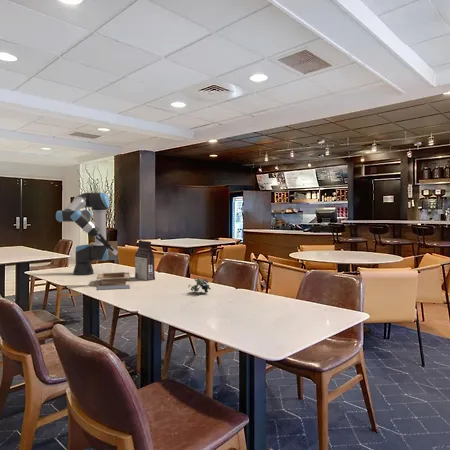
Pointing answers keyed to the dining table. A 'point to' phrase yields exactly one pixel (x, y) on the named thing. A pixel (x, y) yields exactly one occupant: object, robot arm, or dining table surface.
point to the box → (110, 254)
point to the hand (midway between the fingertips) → (116, 253)
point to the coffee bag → (144, 262)
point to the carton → (113, 278)
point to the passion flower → (201, 283)
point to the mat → (113, 287)
